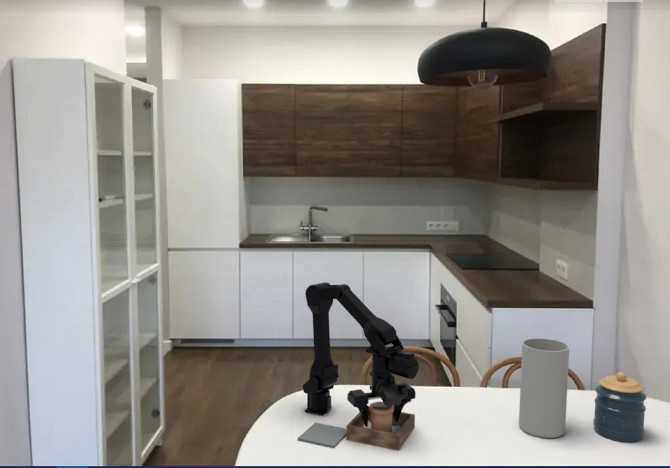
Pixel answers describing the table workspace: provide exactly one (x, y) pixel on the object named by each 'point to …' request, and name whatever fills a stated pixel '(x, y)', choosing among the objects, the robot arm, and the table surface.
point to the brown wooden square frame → (381, 437)
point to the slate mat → (323, 435)
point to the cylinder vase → (543, 387)
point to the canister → (619, 408)
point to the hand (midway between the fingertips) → (381, 424)
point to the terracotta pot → (381, 416)
